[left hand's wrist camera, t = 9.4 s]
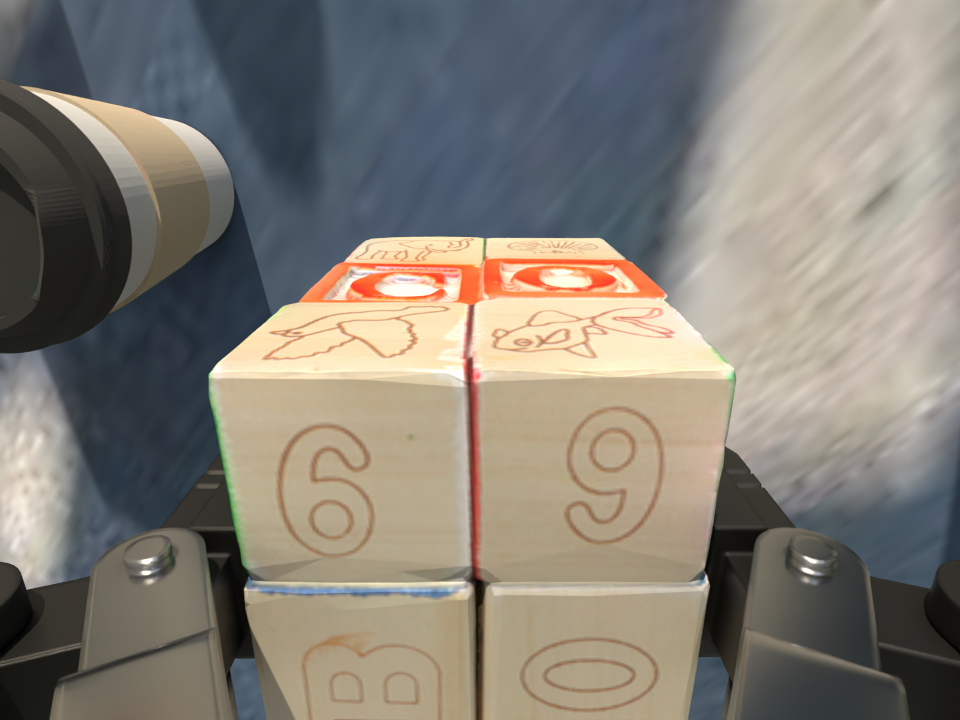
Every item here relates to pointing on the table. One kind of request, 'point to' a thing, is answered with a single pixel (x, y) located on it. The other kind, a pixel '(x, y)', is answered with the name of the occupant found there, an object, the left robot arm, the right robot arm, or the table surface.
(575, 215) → the table surface
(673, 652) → the stack of blocks
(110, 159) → the coffee cup
